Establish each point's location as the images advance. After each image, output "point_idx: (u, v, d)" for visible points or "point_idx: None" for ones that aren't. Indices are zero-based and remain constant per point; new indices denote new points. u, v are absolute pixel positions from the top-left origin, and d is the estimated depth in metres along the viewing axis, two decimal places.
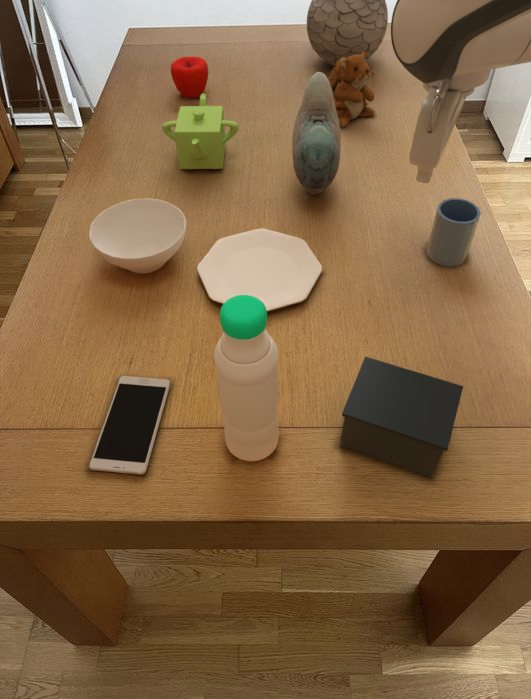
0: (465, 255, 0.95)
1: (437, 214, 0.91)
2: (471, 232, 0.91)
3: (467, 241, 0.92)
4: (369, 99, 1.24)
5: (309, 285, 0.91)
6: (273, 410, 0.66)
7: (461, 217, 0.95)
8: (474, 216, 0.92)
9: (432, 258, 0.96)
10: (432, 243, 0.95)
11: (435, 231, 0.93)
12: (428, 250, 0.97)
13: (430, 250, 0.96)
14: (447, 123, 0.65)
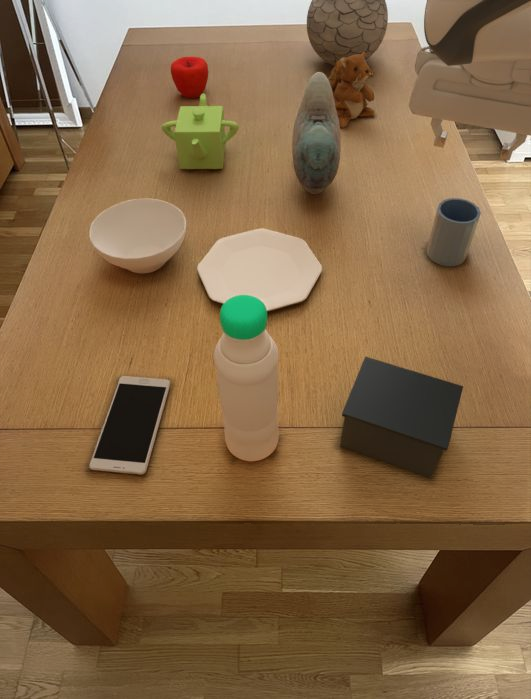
0: (465, 255, 0.95)
1: (437, 214, 0.91)
2: (471, 232, 0.91)
3: (467, 241, 0.92)
4: (369, 99, 1.24)
5: (309, 285, 0.91)
6: (273, 410, 0.66)
7: (461, 217, 0.95)
8: (474, 216, 0.92)
9: (432, 258, 0.96)
10: (432, 243, 0.95)
11: (435, 231, 0.93)
12: (428, 250, 0.97)
13: (430, 250, 0.96)
14: (422, 73, 0.76)
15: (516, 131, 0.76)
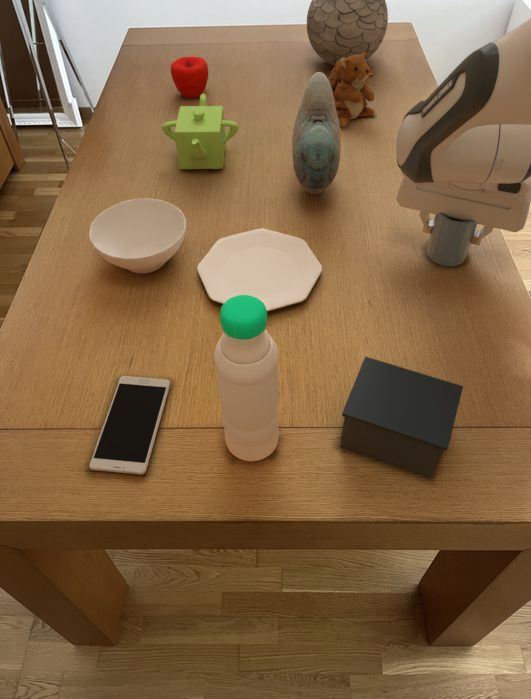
0: (465, 255, 0.95)
1: None
2: (471, 232, 0.91)
3: (467, 241, 0.92)
4: (369, 99, 1.24)
5: (309, 285, 0.91)
6: (273, 410, 0.66)
7: None
8: None
9: (432, 258, 0.96)
10: (432, 243, 0.95)
11: (435, 231, 0.93)
12: (428, 250, 0.97)
13: (430, 250, 0.96)
14: (407, 176, 0.88)
15: (488, 225, 0.89)
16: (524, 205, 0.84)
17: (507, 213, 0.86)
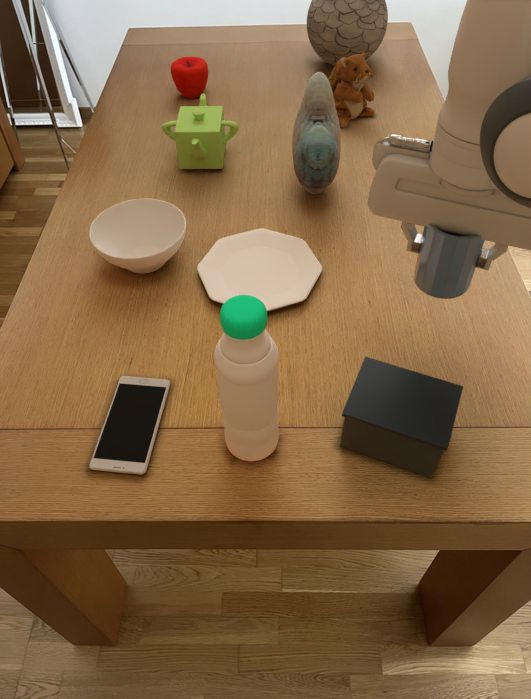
0: (468, 283, 0.66)
1: None
2: (476, 251, 0.62)
3: (470, 264, 0.63)
4: (369, 99, 1.24)
5: (309, 285, 0.91)
6: (273, 410, 0.66)
7: None
8: None
9: (421, 287, 0.68)
10: (420, 266, 0.66)
11: (424, 249, 0.64)
12: (415, 275, 0.68)
13: (418, 276, 0.67)
14: (380, 170, 0.60)
15: (501, 242, 0.60)
16: None
17: None
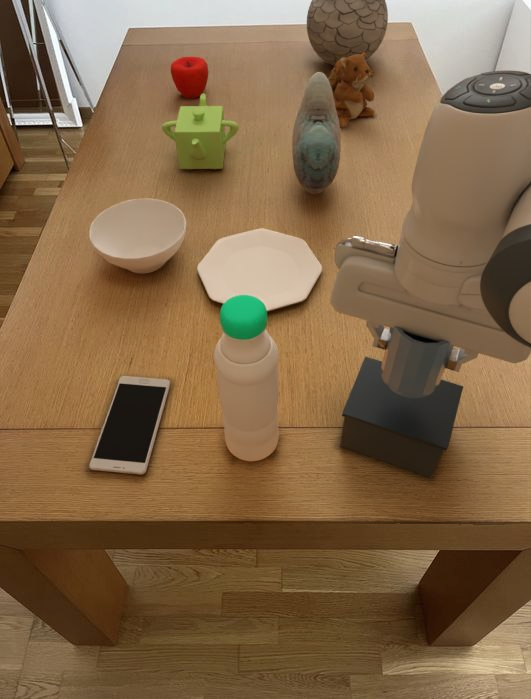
0: (437, 382, 0.62)
1: None
2: (445, 355, 0.58)
3: (439, 367, 0.59)
4: (369, 99, 1.24)
5: (309, 285, 0.91)
6: (273, 410, 0.66)
7: None
8: None
9: (388, 384, 0.64)
10: (387, 364, 0.62)
11: (390, 349, 0.60)
12: (382, 371, 0.64)
13: (384, 373, 0.63)
14: (342, 272, 0.56)
15: (471, 350, 0.56)
16: None
17: (502, 337, 0.53)
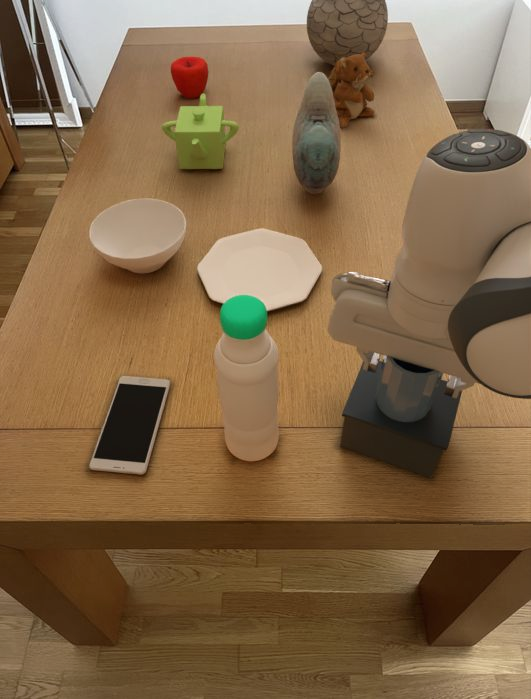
0: (428, 407, 0.66)
1: (385, 356, 0.62)
2: (435, 384, 0.62)
3: (430, 394, 0.63)
4: (369, 99, 1.24)
5: (309, 285, 0.91)
6: (273, 410, 0.66)
7: None
8: None
9: (382, 409, 0.67)
10: (381, 391, 0.66)
11: (384, 377, 0.64)
12: (377, 396, 0.68)
13: (379, 398, 0.67)
14: (338, 305, 0.59)
15: (461, 377, 0.59)
16: None
17: None
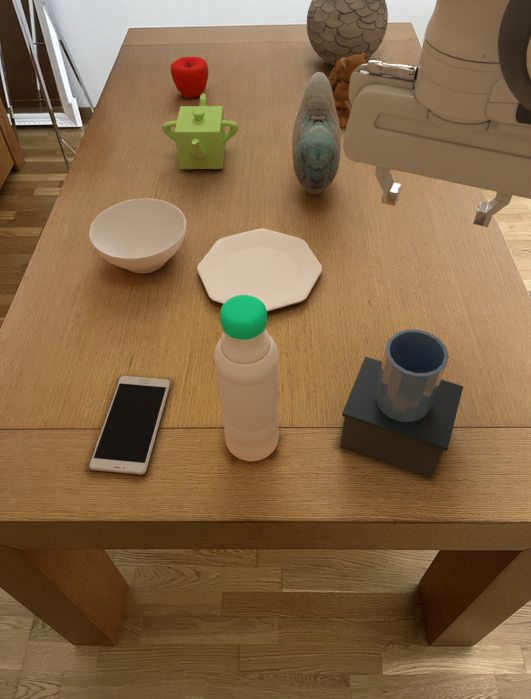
0: (428, 407, 0.66)
1: (385, 356, 0.62)
2: (435, 384, 0.62)
3: (430, 394, 0.63)
4: None
5: (309, 285, 0.91)
6: (273, 410, 0.66)
7: (423, 353, 0.66)
8: (440, 358, 0.63)
9: (382, 409, 0.67)
10: (381, 391, 0.66)
11: (384, 377, 0.64)
12: (377, 396, 0.68)
13: (379, 398, 0.67)
14: (357, 104, 0.51)
15: (496, 189, 0.52)
16: None
17: None
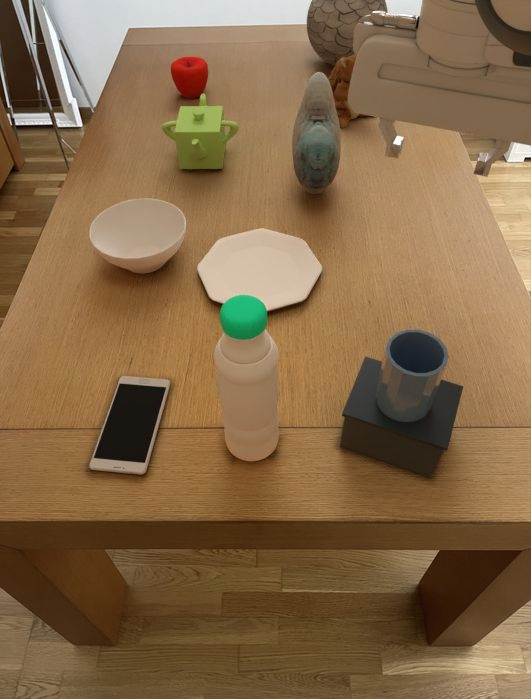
0: (428, 407, 0.66)
1: (385, 356, 0.62)
2: (435, 384, 0.62)
3: (430, 394, 0.63)
4: None
5: (309, 285, 0.91)
6: (273, 410, 0.66)
7: (423, 353, 0.66)
8: (440, 358, 0.63)
9: (382, 409, 0.67)
10: (381, 391, 0.66)
11: (384, 377, 0.64)
12: (377, 396, 0.68)
13: (379, 398, 0.67)
14: (361, 55, 0.54)
15: (495, 136, 0.54)
16: None
17: (528, 112, 0.51)
